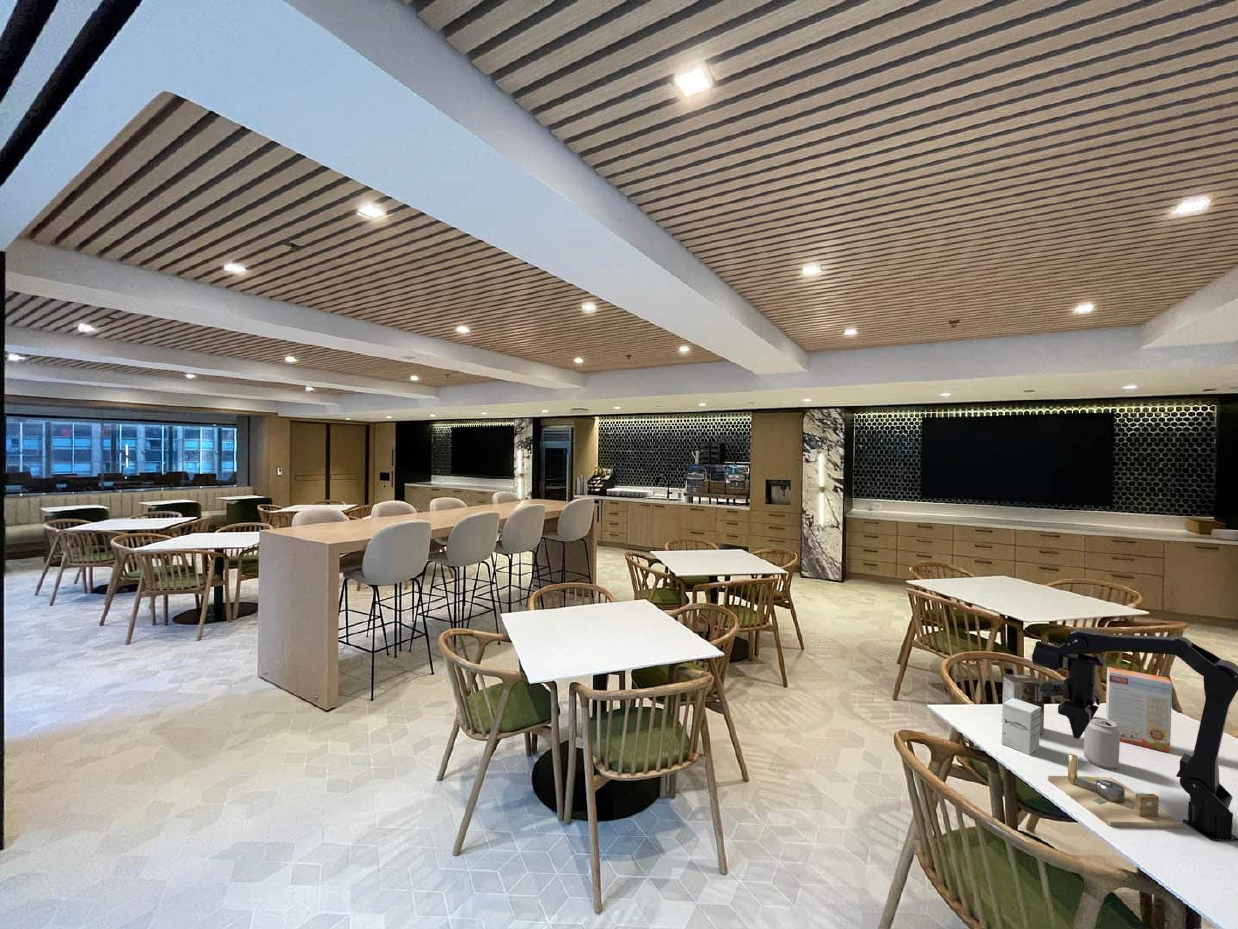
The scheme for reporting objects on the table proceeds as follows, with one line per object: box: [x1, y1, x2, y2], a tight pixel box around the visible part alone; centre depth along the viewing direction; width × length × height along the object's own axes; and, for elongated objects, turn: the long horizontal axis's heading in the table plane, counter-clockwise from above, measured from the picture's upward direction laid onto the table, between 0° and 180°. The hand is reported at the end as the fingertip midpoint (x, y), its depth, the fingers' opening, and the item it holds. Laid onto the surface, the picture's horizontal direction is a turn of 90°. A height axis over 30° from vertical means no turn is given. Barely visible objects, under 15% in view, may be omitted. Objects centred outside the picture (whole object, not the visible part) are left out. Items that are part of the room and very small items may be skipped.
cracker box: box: [1105, 666, 1173, 754], centre depth 166 cm, size 14×6×21 cm, turn 53°
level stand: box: [1047, 775, 1183, 829], centre depth 135 cm, size 18×17×6 cm
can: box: [1083, 715, 1121, 770], centre depth 153 cm, size 8×8×12 cm
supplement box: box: [1000, 698, 1041, 756], centre depth 161 cm, size 7×7×13 cm
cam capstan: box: [1067, 753, 1125, 803], centre depth 137 cm, size 11×5×7 cm, turn 41°
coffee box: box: [1001, 673, 1045, 735], centre depth 172 cm, size 9×6×16 cm
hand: (1078, 735), depth 145 cm, fingers open, 6 cm apart
